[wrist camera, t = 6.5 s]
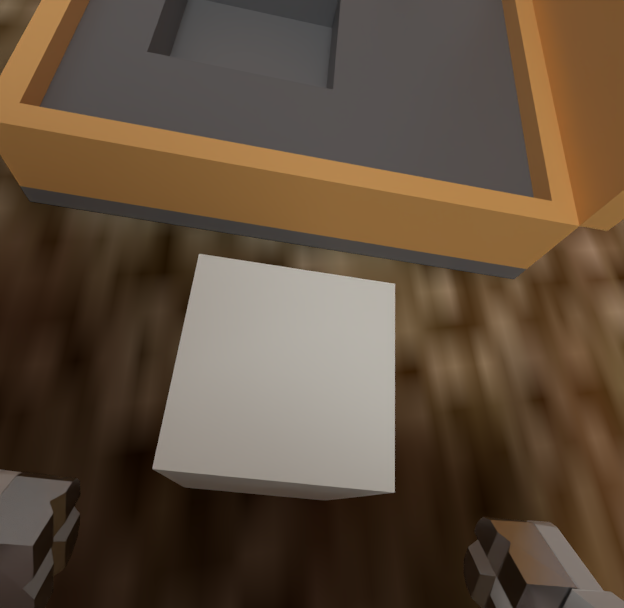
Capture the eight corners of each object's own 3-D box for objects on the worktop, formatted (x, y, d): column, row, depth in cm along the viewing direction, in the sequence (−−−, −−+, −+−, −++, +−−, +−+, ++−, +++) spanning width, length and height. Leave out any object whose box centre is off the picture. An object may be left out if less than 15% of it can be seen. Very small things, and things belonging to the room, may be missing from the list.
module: (184, 487, 16) (151, 469, 9) (210, 346, 18) (200, 246, 11) (325, 500, 16) (394, 492, 10) (334, 362, 18) (395, 277, 12)
